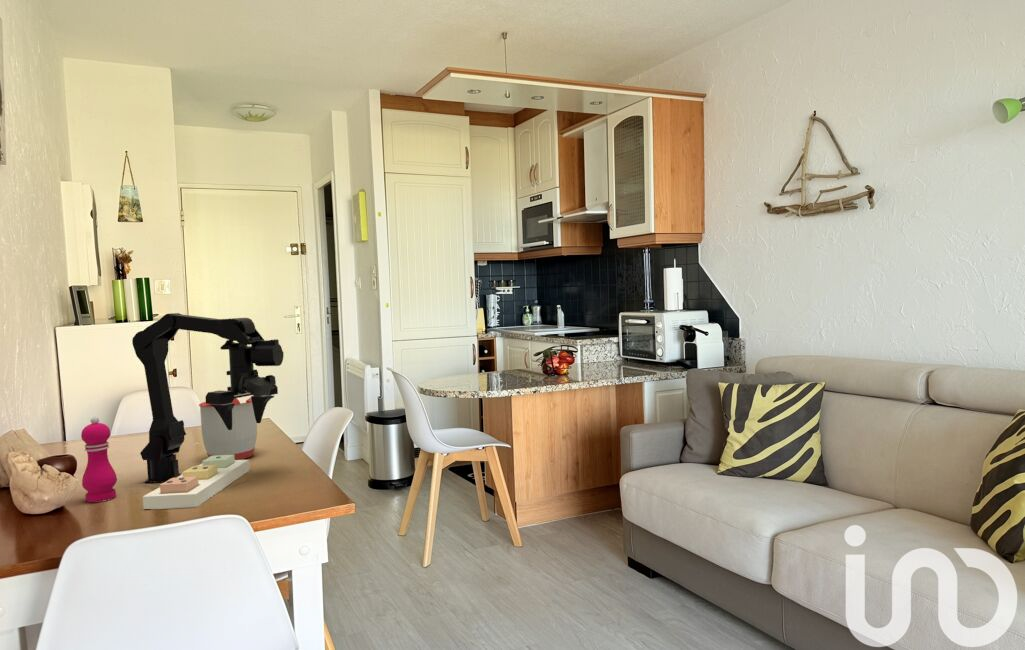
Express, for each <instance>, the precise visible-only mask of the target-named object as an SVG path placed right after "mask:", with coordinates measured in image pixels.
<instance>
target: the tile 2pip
mask: <svg viewBox="0 0 1025 650" xmlns="http://www.w3.org/2000/svg"><path fill="white" fill-rule="evenodd" d="M182 474H183V477H197V476H198V480H207V479H210V478H212V477H213V476H215V475H216V474H218V468H217V465H204V466H198V465H193V466H190V467H189V468H187V469H186V470H184V471H182V473H181V475H182Z"/></svg>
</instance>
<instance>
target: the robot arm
mask: <svg viewBox="0 0 1025 650" xmlns="http://www.w3.org/2000/svg"><path fill="white" fill-rule="evenodd" d="M181 330H182V331H192V332H199V333H207V334H213V335H216V336H218V337H220V338H222V339H225V340H226V341H225V342H224V344H222V345H221V346H220V350H228V356H229V357H228V358H229V359H228V360H229V361H228V362H229V370H227V371H226V376H229V377H230V386H227V387H226V388H227V389H226V390H221V389H219V390H215V391H208V392H207V393H206V394H205V397H204V399H205V402H206V404H210V406H213V407H214V408H215V409H216V411H217V412H218V414H219V415H220V417H221V418H222V420H223V422H224V424H225V425H226V427H227V429H228V430H232V409H233V407H234V405H235V404H234V403H232V402H233V400H234V398H237V399H238V398H245V397H249V396H250V398H251V400H252V405H253V410H254V415H255V419H256V423H257V424H261V423H262V419H263V416H264V413H265V409H266V406H267V404H268V403H269V401H271V399H274V397H275V395H278V394H279V390H278V386H277V385H276V382H277V380H276V376H275V375H272V374H268V375H266V376H260V375H259V371H258V369H255V368H254V365H255V366H256V367H279V366H281V365H282V363H283V360H284V351H283V348H282V346H281V344H280V343H279V341H280V340H279V339H276V338H275V339H269V340H267V339H266V340H265V338H263V336H262V335H261V333H260V332H259V331H258V330H257V328H256V325H255V323H254V321H253V320H252V319H251V318H249V317H235V318H213V317H206V316H205V317H204V316H197V315H187V314H182V313H179V312H173V313H172V312H171V313H166V314H164V315H163V316H162V317H161V318H159V319H158V320H157V321H155V322H153V323H152V324H150V325H149V326H146V328H144V329H143V330H141V331H138V332H136V333H135V335H134V336H132V347H133V350H134V354H135V356H136V357H137V358H138V360H139V361H140V362H141V363H142V365H143V367H144V373H145V380H146V384H147V385H146V386H147V390H148V391H147V392H148V398H149V404H150V409H151V416H152V422H151V424H150V427H149V430H148V443H147V444H146V445H145V447H144V448H143V449H141V450H140V452H139V453H140V456H141V459H142V461H146V469H147V479H145V481H144V483H161V482H162V483H164V482H166V481H168V480H169V479H171V478H177V477H179V476H180V475H181V473H180V471H179V467H180V466H179V460H178V459H177V455H176V454H177V453H179V452H180V449H181V446H182V444H183V443H184V442H185V436H186V435H187V433H186V430H185V422H184V420H183V419H181V420H178V419H177V417H176V416H175V415H174V412H173V411H174V410H173V404H172V400H171V399H172V398H171V394H170V393H171V391H170V387H169V381H168V374H167V370H166V369H167V368H166V363H165V362H166V360H167V356H168V353H169V342H170V341H171V340H172V339H173V338H174V337H175V336H176V335H177V334H178V331H181Z"/></svg>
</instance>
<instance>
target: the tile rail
mask: <svg viewBox="0 0 1025 650" xmlns="http://www.w3.org/2000/svg"><path fill="white" fill-rule="evenodd" d="M197 466H202V463H200V464H198V465H197ZM249 471H250V459H241V460H235V463H234V464H232V465H230V466H229V467H227V468H218V474H216V475H215V476H213V477H212V478H210V479H207V480H198V485H199V486H197V487H196V488H194V489H193V490H191V491H189V492H188V493H170V494H161V493H160V486H159V487H158V488H156V489H154V490H152V491H150V492H149V493H147V494H145V495H143V496H142V505H143V510H144V509H151V510H165V509H167V510H168V509H186V508H188V509H189V508H198V507H200V506H201V505H202V504H204V503H205V502H206V501H208V500H209V499H210V497H211V498H212V497H214V496H216V495H217V494H218V493H219V492H221V491H222V490H223V489H225V488H227V487H228V486H229V485H231V484H232V483H234V482H235V481H237V480H238V479H239V478H241V477H242V476H243V475H245V474H246V473H248V472H249ZM178 477H183V474H182V473H181V474H180V476H178ZM178 477H176V478H178ZM213 495H214V496H213Z"/></svg>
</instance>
